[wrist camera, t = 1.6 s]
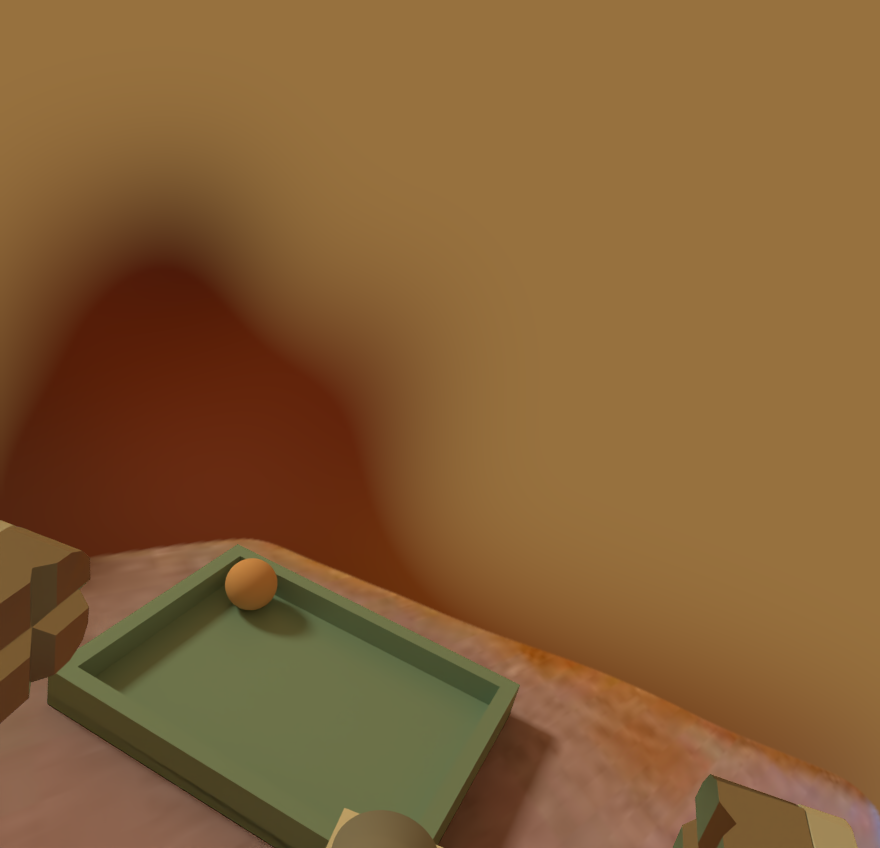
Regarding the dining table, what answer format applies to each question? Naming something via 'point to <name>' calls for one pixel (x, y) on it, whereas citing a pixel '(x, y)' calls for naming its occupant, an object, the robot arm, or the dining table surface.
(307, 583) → the tray
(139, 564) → the dining table surface
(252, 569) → the ball
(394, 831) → the shaker
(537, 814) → the dining table surface
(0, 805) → the dining table surface
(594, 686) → the dining table surface
